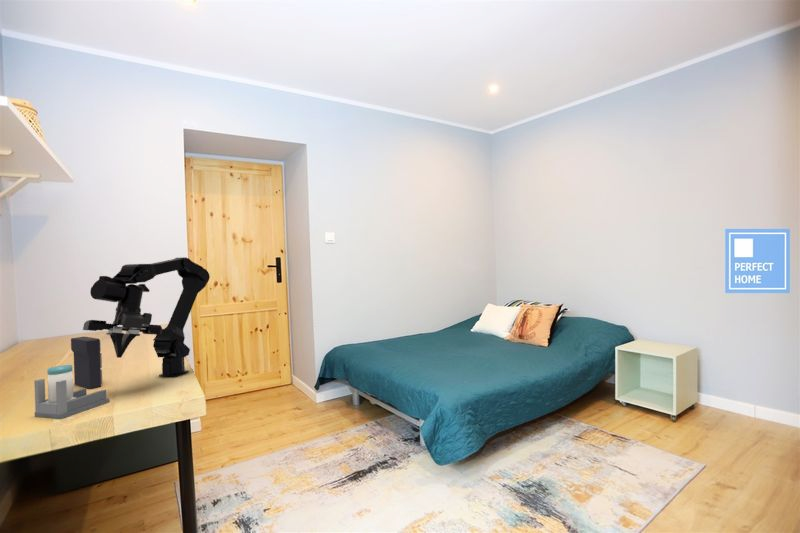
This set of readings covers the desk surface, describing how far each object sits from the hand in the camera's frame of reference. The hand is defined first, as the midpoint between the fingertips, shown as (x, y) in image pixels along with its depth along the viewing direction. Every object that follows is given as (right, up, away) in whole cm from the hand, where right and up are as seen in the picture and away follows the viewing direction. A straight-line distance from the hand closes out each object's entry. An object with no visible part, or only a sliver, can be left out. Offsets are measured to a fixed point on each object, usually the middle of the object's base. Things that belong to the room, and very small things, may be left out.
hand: (119, 357), depth 115 cm
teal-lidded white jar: (-4, -9, -15) cm, 18 cm away
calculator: (-16, -11, +9) cm, 21 cm away
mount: (-3, -11, -12) cm, 16 cm away
